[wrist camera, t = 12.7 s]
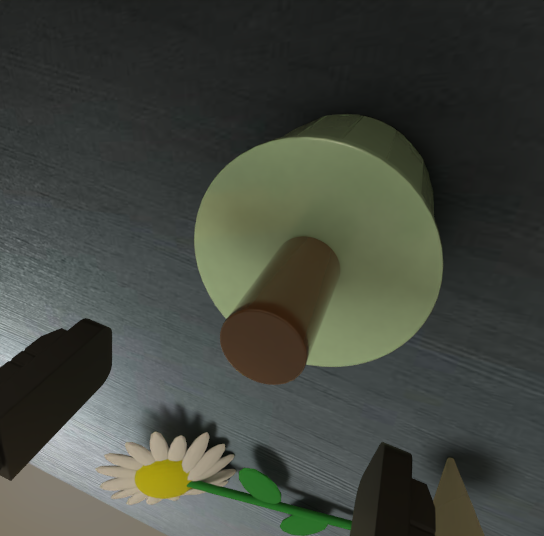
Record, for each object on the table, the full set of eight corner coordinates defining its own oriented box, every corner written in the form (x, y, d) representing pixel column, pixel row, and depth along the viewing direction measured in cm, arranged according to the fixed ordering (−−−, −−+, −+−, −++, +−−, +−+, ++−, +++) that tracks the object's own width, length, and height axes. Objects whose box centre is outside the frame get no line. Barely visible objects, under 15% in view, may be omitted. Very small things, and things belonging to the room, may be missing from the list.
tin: (234, 194, 28) (169, 245, 21) (347, 72, 23) (310, 84, 16) (339, 301, 30) (310, 383, 22) (471, 209, 24) (488, 279, 17)
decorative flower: (433, 474, 37) (115, 395, 40) (441, 531, 33) (87, 439, 36) (394, 540, 44) (126, 469, 47) (396, 594, 40) (104, 513, 43)
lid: (166, 240, 22) (66, 314, 16) (313, 68, 16) (242, 82, 10) (313, 383, 23) (272, 502, 17) (501, 274, 17) (540, 399, 11)
